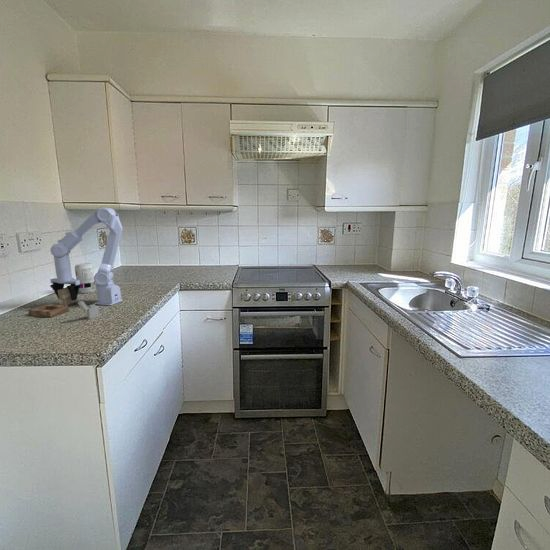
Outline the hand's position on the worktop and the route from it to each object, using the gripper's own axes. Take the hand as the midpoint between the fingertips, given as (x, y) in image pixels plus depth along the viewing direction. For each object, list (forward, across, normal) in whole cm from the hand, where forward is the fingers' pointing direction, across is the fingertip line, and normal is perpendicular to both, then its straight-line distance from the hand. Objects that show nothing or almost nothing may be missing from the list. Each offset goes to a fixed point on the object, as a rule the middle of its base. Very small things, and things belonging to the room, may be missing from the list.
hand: (67, 299), depth 141 cm
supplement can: (+3, +12, -22) cm, 25 cm away
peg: (+3, 0, 0) cm, 3 cm away
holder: (+3, -2, +11) cm, 12 cm away
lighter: (+3, -24, +12) cm, 27 cm away
